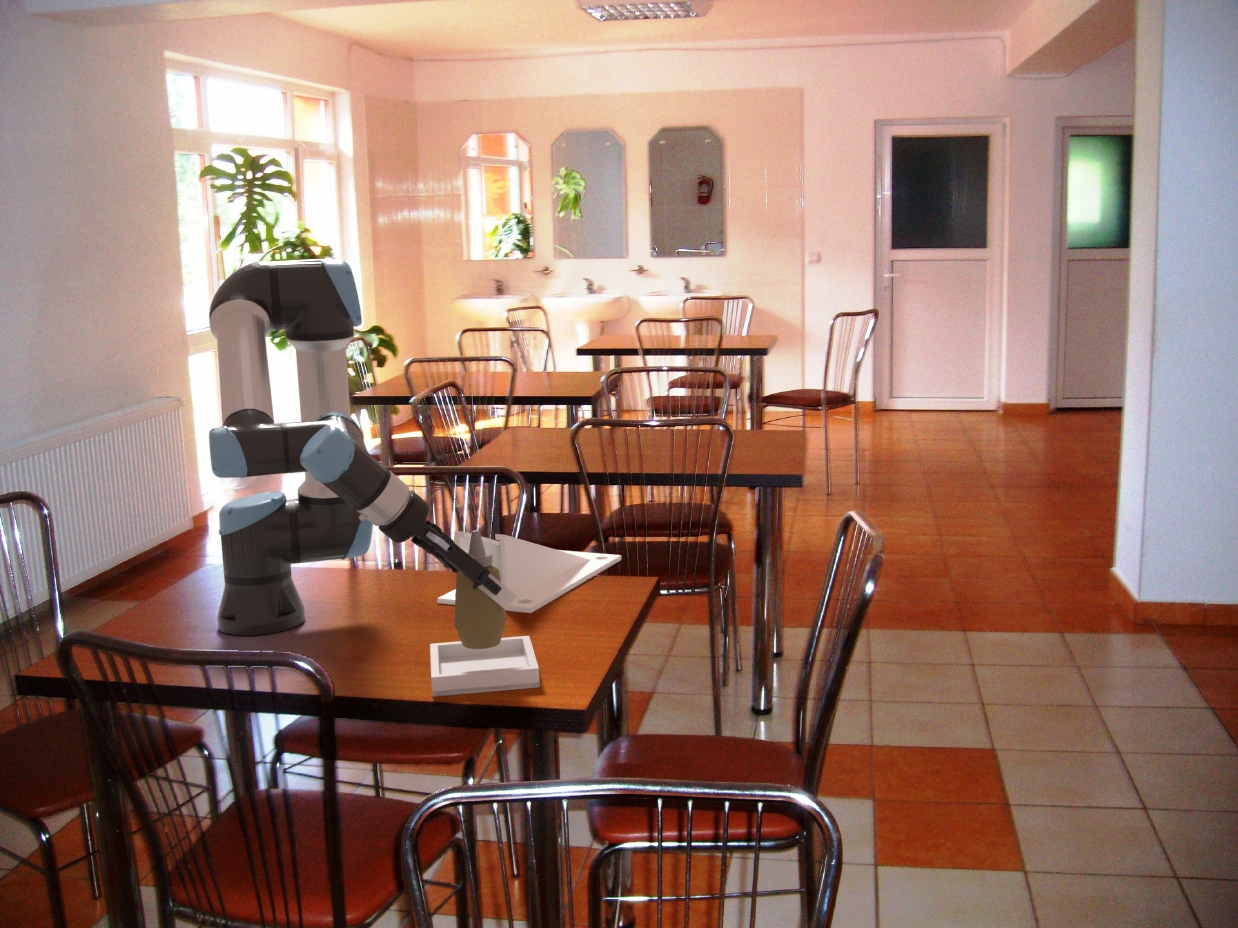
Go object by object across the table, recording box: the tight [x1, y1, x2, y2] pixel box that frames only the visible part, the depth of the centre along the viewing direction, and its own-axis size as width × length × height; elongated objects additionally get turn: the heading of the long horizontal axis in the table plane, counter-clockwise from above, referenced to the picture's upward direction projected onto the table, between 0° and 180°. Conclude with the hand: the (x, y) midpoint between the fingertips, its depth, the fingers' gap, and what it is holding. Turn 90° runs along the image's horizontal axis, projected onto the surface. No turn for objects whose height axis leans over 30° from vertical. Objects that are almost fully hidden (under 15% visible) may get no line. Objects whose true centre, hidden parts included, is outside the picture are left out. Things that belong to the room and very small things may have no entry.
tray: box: [429, 635, 541, 698], centre depth 187 cm, size 16×16×3 cm
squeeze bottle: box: [453, 529, 507, 649], centre depth 184 cm, size 8×8×18 cm
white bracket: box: [436, 530, 622, 614], centre depth 239 cm, size 20×14×40 cm
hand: (500, 597), depth 187 cm, fingers closed on squeeze bottle, 6 cm apart
